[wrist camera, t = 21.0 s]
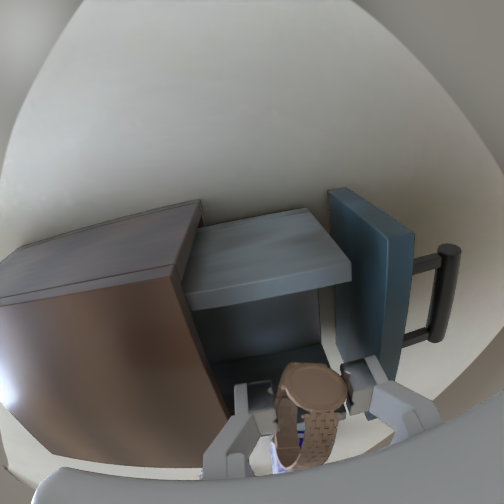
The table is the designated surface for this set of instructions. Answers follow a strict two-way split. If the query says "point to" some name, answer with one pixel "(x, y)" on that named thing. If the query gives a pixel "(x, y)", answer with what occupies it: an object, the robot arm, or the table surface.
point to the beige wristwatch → (314, 401)
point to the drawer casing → (110, 343)
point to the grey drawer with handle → (310, 291)
